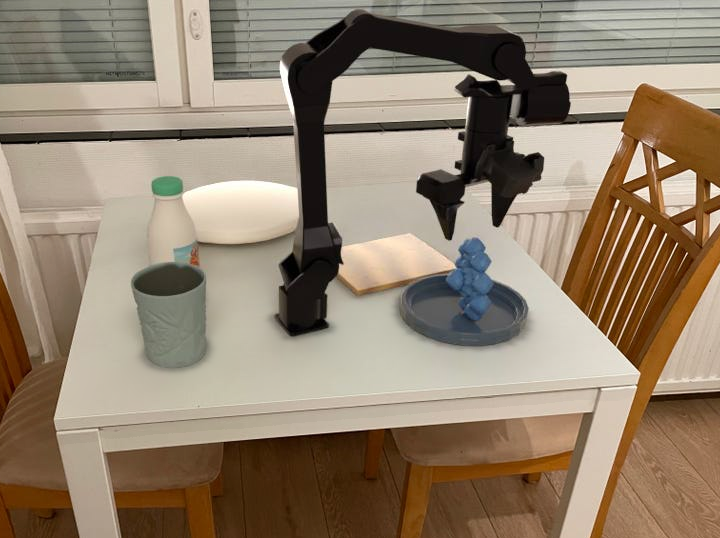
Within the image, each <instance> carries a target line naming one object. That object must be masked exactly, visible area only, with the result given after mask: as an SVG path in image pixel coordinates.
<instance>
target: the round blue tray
mask: <svg viewBox="0 0 720 538" xmlns="http://www.w3.org/2000/svg"><path fill="white" fill-rule="evenodd" d="M448 275H449V274H437V275H432V276H428V277H423V278H421V279H418V280H416V281H414V282H412V283H411V284H407V285H406V286H405V287H404V289H403V291H402V292H401V295H400V305H399V310H400V315H401V317H402V319H403V320H404V322H405V323H406V324H407V325H408V326H409V327H410V328H411V329H413V330H414V331H416V332H417V333H420V334H422V335H423V336H425V337H427V338H431V339H433V340H436V341H439V342H443V343H447V344H453V345H458V346H475V347H477V346H478V347H479V346H489V345H497V344H500V343H503V342H507V341H509V340H511V339H513V338H515V337H517V336H518V335H520V333H521V332H522V331H523V330H524V329H525V328H526V323H527V320H528V319H527V318H528V314H529V305H528V303H527V300H526V299H525V298H524V297H523V296H522V295H521V292H519V291H517V290H516V289H514V288H513V287H511V286H510V285H507V284H505V283H502V282H501V281H499V280H495V279H492V281H493V282H494V284H493V286H492V288H491V290H490V291H489V292H488V293H487V294H486V295H487V297H488V298H489V299H490V301H491V302H492V303H491V305H490V307H489V308H488V310H487V311H486V312H485V313H484V314H483V316H482V317H481V319H480V320H478V321H473V320H471V319H470V318H469V317H468V316H467V314H466V313H465V312H464V310H463V309H462V308H461V307H460V305H459V304H458V303H459V301H460V299H461V298H462V295H461V294H460V293H459V291H458V290H453V289H452V288H451V287H450V286H449V284H448V283H447V282H446V278H447V276H448Z"/></svg>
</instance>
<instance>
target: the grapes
mask: <svg viewBox="0 0 720 538" xmlns="http://www.w3.org/2000/svg"><path fill="white" fill-rule="evenodd" d="M486 248H487V246H485V244H484V243H483V241H482V240H481V239H480V238H478V237H474V236H473V237H471V238H465V239H464V240H463V241H462V243H460V246H459V247H458V249H457V251H458V252H459V254H460V255H459V256H458V257H457V258H456V260H455V262H454V264H455V266H456V267H457V269H453V270H452V271H451V272H450V273H449V275H448V276H447V278H446V282H447V283H448V284H449V286H450V287H451V288H452V289H453V290H458V291H459V293H460V294H461V295H462V298H461V299H460V301H459V303H458V304H459V305H460V307H461V308H462V309H463V310H464V312H465V313H466V314H467V316H468V317H469V318H470V319H471V320H473V321H478V320H480V319H481V317H482V316H483V314H484V313H485V312H486V311H487V310H488V308H489V307H490V305H491V303H492V302H491V301H490V299H489V298H488V297H487V295H486V294H487V293H488V292H489V291H490V290H491V288H492V286H493V284H494V282H493V281H492V280H493V279H492V278H491V276H490V275H488V274H487V273H486V271H487V270H488V269H489V267H490V265H491V264H492V260H491V258H490V257H489V255H488V254H487V253H486V252H485V250H486Z"/></svg>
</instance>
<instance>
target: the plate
mask: <svg viewBox="0 0 720 538" xmlns="http://www.w3.org/2000/svg"><path fill="white" fill-rule="evenodd" d="M182 199H183V202H184V205H185V207H186V209H187V211H188V213H189V215H190V216H191V218H192V220H193V222H194V225H195V229H196V233H197V242H198V243H206V244H207V243H208V244H217V245H241V244H252V243H259V242H265V241H269V240H273V239H276V238H280V237H282V236H286V235H287V234H290V233H292V232H295V230H296V226H297V223H298V219H299V206H298V191H297V187H293V186H290V185H286V184H281V183H276V182H270V181H259V180H231V181H222V182H217V183H212V184H207V185H202V186H199V187H197V188H194V189H190V190H188V191H186V192H184V194H183V196H182Z"/></svg>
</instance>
